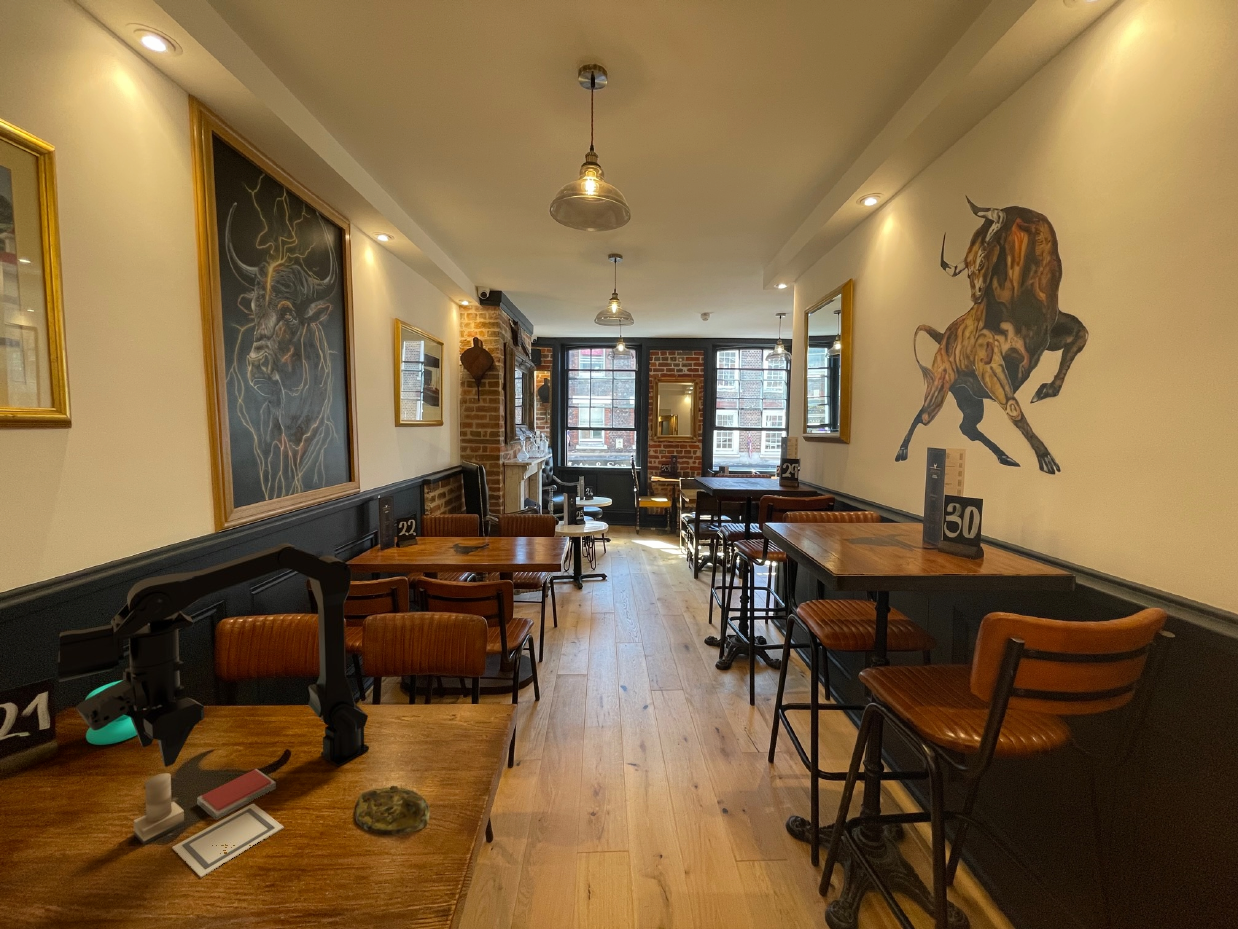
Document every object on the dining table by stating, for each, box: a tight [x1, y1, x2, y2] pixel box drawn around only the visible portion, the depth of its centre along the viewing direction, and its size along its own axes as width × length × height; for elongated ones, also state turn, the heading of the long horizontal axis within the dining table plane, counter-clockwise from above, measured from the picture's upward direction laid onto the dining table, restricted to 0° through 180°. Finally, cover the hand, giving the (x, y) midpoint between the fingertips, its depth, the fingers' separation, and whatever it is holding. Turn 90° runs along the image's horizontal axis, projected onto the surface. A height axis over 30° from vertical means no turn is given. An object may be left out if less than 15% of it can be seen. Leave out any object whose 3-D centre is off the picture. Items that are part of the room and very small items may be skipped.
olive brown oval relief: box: [354, 785, 430, 836], centre depth 86 cm, size 9×5×15 cm
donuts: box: [84, 679, 138, 746], centre depth 107 cm, size 10×10×10 cm
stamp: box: [133, 772, 185, 846], centre depth 81 cm, size 5×4×8 cm
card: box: [171, 803, 285, 879], centre depth 80 cm, size 11×10×1 cm
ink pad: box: [196, 768, 277, 821], centre depth 89 cm, size 9×7×2 cm
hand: (157, 755), depth 81 cm, fingers open, 9 cm apart
